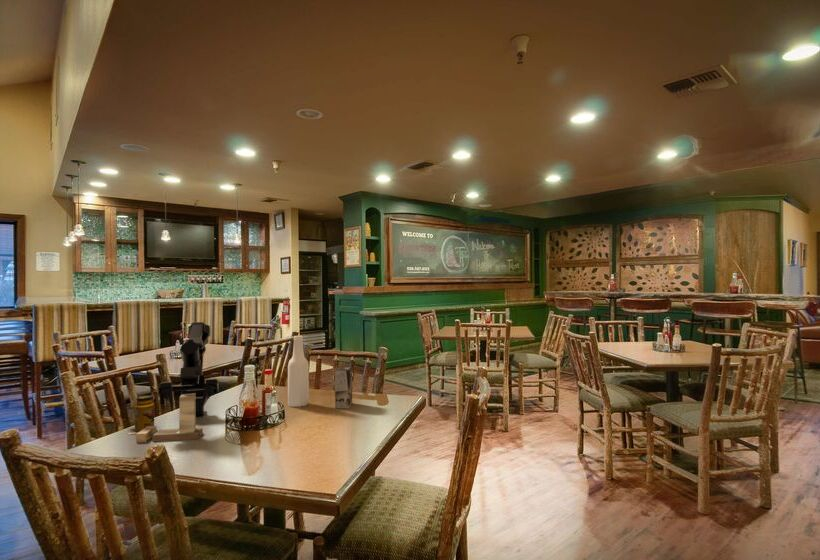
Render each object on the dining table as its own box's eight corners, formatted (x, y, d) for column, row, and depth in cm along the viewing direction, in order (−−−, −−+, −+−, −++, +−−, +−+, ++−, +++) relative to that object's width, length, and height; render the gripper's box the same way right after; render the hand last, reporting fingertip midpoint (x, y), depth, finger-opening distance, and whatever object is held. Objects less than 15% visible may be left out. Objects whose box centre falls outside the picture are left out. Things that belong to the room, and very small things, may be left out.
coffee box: (349, 408, 187) (349, 370, 187) (334, 408, 187) (334, 370, 187) (352, 403, 196) (352, 366, 196) (338, 403, 196) (338, 366, 196)
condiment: (155, 430, 158) (156, 397, 159) (127, 435, 154) (128, 400, 154) (154, 425, 164) (154, 393, 165) (127, 429, 160) (127, 396, 160)
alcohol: (306, 401, 199) (306, 334, 199) (310, 406, 191) (310, 336, 191) (286, 403, 195) (286, 335, 196) (289, 408, 187) (289, 337, 188)
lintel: (147, 435, 154) (147, 426, 155) (156, 434, 155) (156, 426, 155) (136, 442, 147) (136, 433, 147) (145, 442, 147) (145, 433, 147)
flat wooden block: (160, 435, 153) (160, 428, 153) (202, 433, 155) (202, 427, 155) (152, 441, 147) (152, 434, 147) (196, 439, 149) (196, 432, 149)
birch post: (181, 429, 153) (181, 394, 153) (195, 427, 155) (195, 393, 155) (179, 433, 149) (179, 397, 149) (194, 431, 151) (194, 396, 151)
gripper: (159, 359, 153) (152, 398, 142) (218, 356, 159) (215, 393, 149) (163, 377, 160) (157, 416, 149) (219, 374, 166) (217, 411, 156)
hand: (187, 409), depth 151 cm, fingers open, 9 cm apart
